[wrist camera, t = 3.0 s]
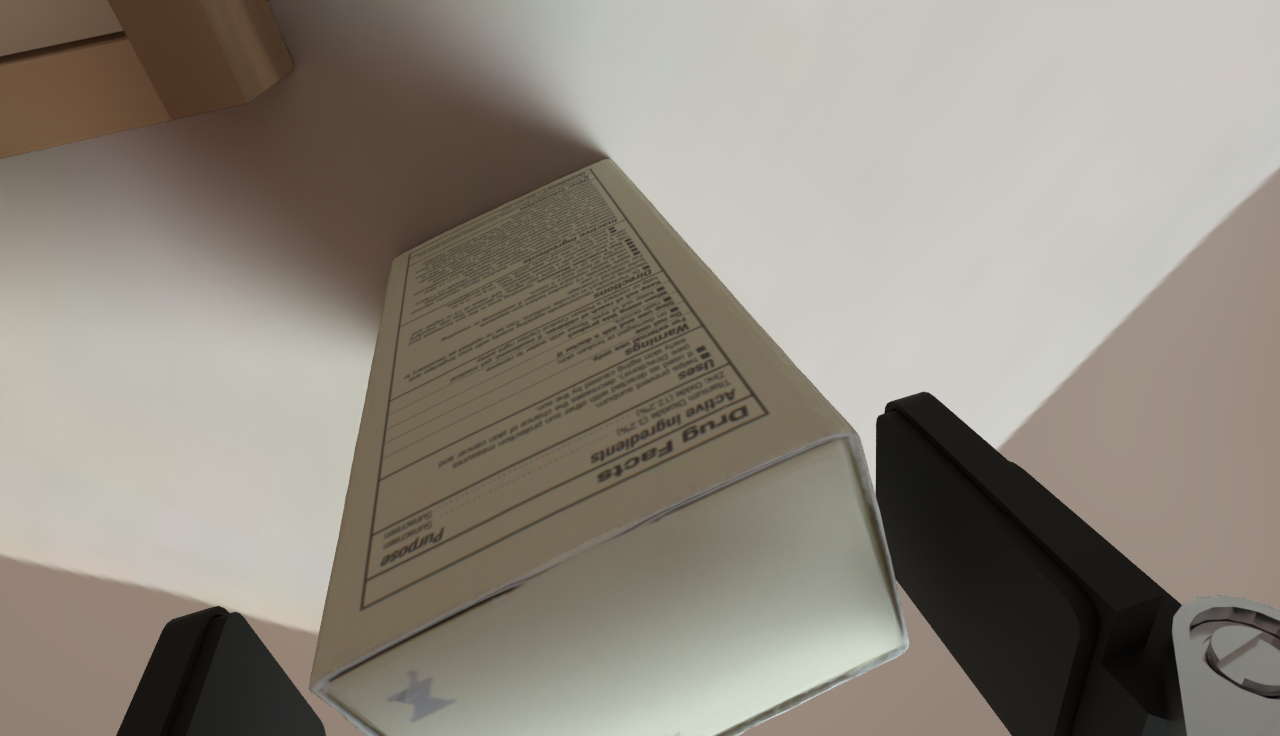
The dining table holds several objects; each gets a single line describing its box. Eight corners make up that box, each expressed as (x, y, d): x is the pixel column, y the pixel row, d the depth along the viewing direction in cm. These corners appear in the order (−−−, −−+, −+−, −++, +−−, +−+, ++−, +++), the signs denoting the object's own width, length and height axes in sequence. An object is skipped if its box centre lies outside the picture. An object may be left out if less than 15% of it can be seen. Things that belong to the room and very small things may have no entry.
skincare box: (472, 383, 19) (492, 862, 9) (383, 249, 17) (275, 699, 7) (676, 289, 19) (924, 664, 9) (616, 140, 17) (865, 427, 7)
